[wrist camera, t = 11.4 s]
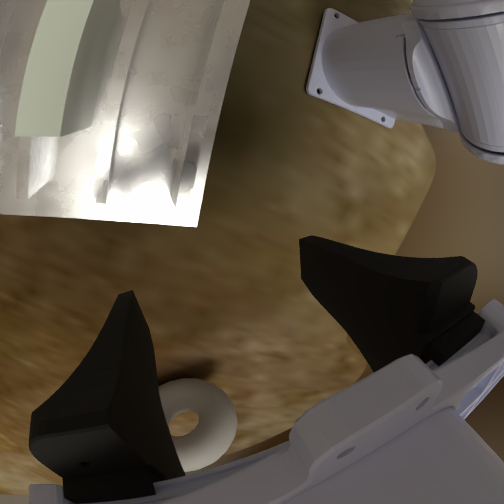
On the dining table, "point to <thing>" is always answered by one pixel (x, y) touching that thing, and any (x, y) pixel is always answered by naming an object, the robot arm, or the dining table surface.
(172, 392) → the donut
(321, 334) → the dining table surface
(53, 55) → the grey rectangular block
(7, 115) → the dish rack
